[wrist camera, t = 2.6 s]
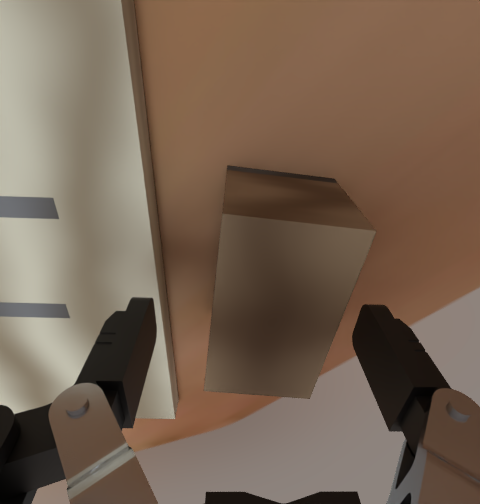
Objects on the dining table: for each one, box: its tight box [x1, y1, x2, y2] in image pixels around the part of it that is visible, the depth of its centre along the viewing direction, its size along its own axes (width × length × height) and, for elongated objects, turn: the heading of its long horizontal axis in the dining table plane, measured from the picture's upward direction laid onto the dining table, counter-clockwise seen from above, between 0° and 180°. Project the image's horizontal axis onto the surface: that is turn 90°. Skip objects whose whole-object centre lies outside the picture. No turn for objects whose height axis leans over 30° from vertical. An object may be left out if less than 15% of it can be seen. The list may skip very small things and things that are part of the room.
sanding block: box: [204, 166, 376, 399], centre depth 15 cm, size 5×9×5 cm, turn 173°
